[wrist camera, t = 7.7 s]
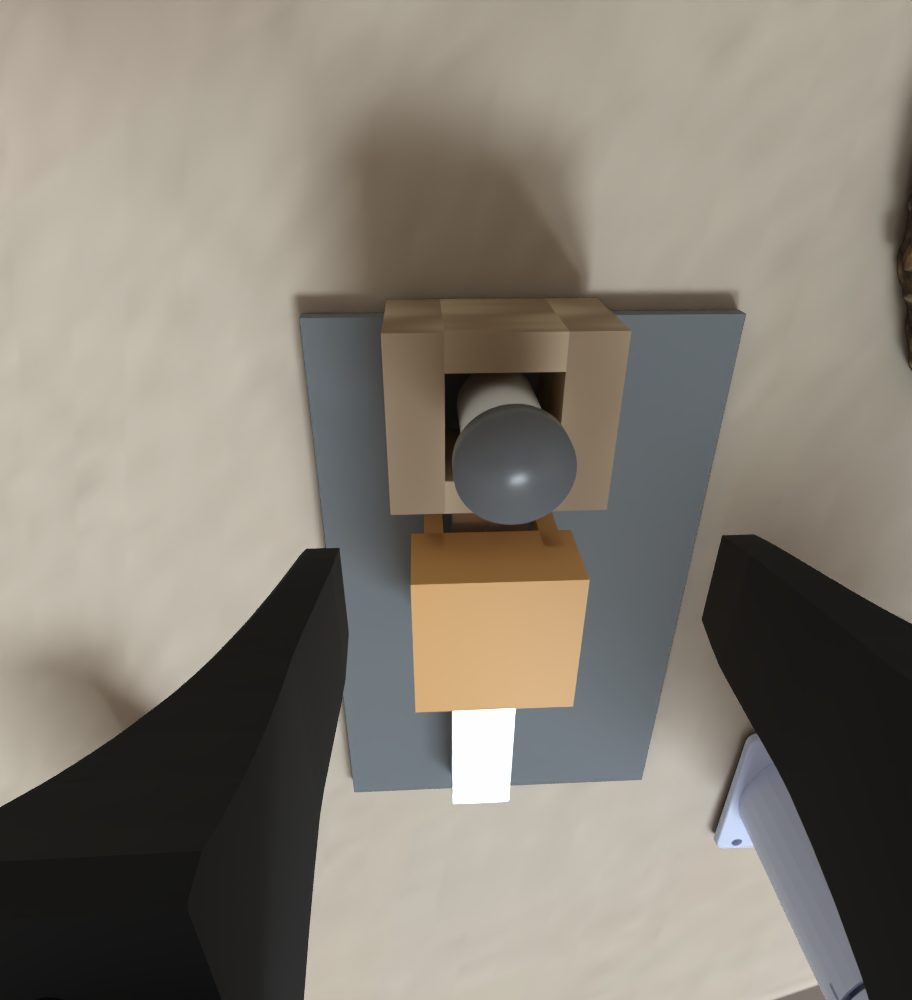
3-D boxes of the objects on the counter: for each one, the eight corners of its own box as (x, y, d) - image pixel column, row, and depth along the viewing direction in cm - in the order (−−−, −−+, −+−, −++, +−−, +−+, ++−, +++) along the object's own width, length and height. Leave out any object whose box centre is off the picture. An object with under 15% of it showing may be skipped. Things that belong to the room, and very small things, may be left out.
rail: (525, 441, 21) (532, 462, 19) (504, 771, 29) (508, 801, 27) (450, 443, 21) (452, 464, 19) (450, 773, 29) (452, 804, 27)
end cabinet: (596, 297, 19) (631, 331, 16) (579, 454, 21) (606, 509, 18) (386, 299, 18) (380, 333, 15) (394, 458, 21) (390, 514, 18)
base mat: (738, 309, 19) (746, 313, 19) (638, 770, 30) (641, 779, 30) (302, 313, 19) (299, 317, 18) (355, 782, 29) (354, 792, 29)
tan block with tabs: (562, 508, 22) (589, 579, 18) (551, 625, 24) (573, 706, 21) (411, 512, 21) (410, 585, 18) (415, 629, 24) (415, 712, 20)
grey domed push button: (548, 353, 18) (583, 412, 14) (541, 447, 19) (571, 523, 15) (445, 355, 17) (453, 415, 14) (446, 449, 19) (453, 526, 15)
